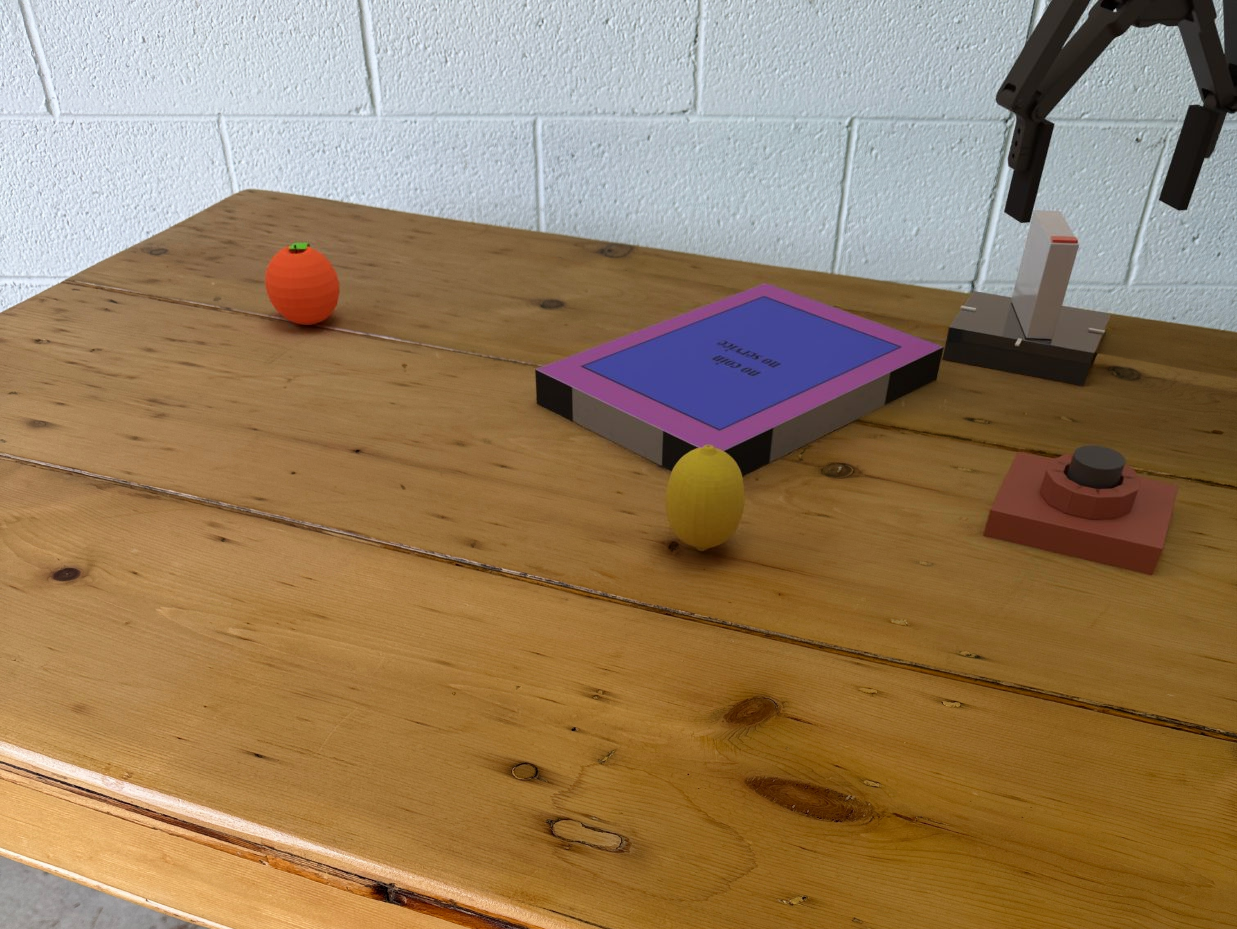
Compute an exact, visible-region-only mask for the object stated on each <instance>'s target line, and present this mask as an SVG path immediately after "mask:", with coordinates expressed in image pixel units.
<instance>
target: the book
mask: <svg viewBox="0 0 1237 929" xmlns="http://www.w3.org/2000/svg"><path fill="white" fill-rule="evenodd" d="M944 349H945V346H942V345H940V344H937V343H935V342H932V341H929V340H926V339H923V338H920V337H918V336H915V335H912V334H911V333H910V334H909V333H907V332H904V331H901V330H899V329H896V328H893V327H891V326H887V325H884V324H881V323H879V322H876V321H874V320H870V319H867V318H865V317H862V316H859V315H856V314H855V313H851V312H848V311H846V310H843V309H840V308H838V307H834V306H831V305H829V304H826V303H823V302H820V301H817V300H815V299H813V298H809V297H806V296H804V295H801V294H798V293H796V292H794V291H790V290H788V289H784V288H782V287H779V286H776V285H773V284H770V283H768V282H765V283H762V284H759V285H757V286H754V287H751V288H748V289H745V290H743V291H740V292H738V293H735V294H731V295H730V296H727V297H724V298H722V299H719V300H716V301H714V302H711V303H708V304H706V305H703V306H700V307H698V308H695V309H692V310H689V311H687V312H684V313H682V314H679V315H676V316H673V317H671V318H668V319H666V320H664V321H661V322H658V323H655V324H652V325H649V326H647V327H644V328H642V329H639V330H636V331H634V332H632V333H629V334H625V335H622V336H620V337H618V338H615V339H613V340H609V341H607V342H605V343H601V344H599V345H596V346H594V347H591V348H588V349H585V350H582V351H580V352H578V353H575V354H572V355H570V356H567V357H564V358H561V359H559V360H556V361H554V362H551V363H548V364H545V365H543V366H539V367H538V368H535V369H534V374H535V376H534V377H535V396H536V397H535V398H536V404H537V405H538V406H541V407H544V408H545V409H547V410H549V411H551V412H553V413H555V414H557V415H559V416H561V417H562V418H565V419H567V420H569V421H571V422H573V423H575V424H577V425H578V426H581V427H583V428H585V429H587V430H589V431H591V432H593V433H594V434H597V435H599V436H601V437H603V438H605V439H607V440H609V441H611V442H612V443H615V444H617V445H618V446H620V447H622V448H625V449H626V450H628V451H630V452H632V453H634V454H637V455H639V456H641V457H643V458H644V459H646V460H648V461H650V462H652V463H654V464H657V465H659V466H660V467H663V468H664V469H666V470H669V471H670V472H672V470H673V468H674V466H675V465H676V463H677V462H678V461H679V460H680V459H681V458H682V457H683V456H684V455H685V454H687V453H688V452H690V451H692V450H694V449H697V448H701V447H703V446H705V445H712V446H714V448H717V449H720V450H722V451H724V452H726V453H727V454H728V455H729V456H731V457H732V458H733V459H734V460H735V462H736V463H737V465H738V467H739V468H740V471H741V474H742V477H744V476H745V475H748V474H750V473H753V472H754V471H757V470H758V469H760V468H762V467H764V466H766V465H768V464H770V463H772V462H774V461H776V460H778V459H780V458H783V457H784V456H787V455H788V454H790V453H792V452H794V451H796V450H798V449H801V448H802V447H805V446H807V445H808V444H811V443H812V442H815V441H816V440H819V439H821V438H823V437H825V436H826V435H828V433H829V434H831V433H832V432H835V431H837V430H839V429H840V428H842V426H843V427H845V426H847V425H848V424H851V423H852V422H855V421H857V420H858V419H860V418H862V417H864V416H866V415H868V414H870V413H872V412H874V411H876V410H879V409H880V408H882V407H885V406H886V405H888V404H890V403H892V402H895V401H896V400H898V399H900V398H902V397H904V396H907V395H908V394H910V393H913V392H915V391H917V390H919V389H921V388H923V387H925V386H926V385H929V384H930V383H932V382H935V381H937V380H938V375H939V371H940V366H941V361H942V358H943V353H944ZM838 428H839V429H838ZM836 429H837V430H836ZM834 430H835V431H834ZM830 432H831V433H830ZM824 435H825V436H824Z"/></svg>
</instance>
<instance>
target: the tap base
mask: <svg viewBox="0 0 1237 929" xmlns="http://www.w3.org/2000/svg"><path fill="white" fill-rule="evenodd" d="M1011 300H1012V296H1007V295H1000V294H994V293H988V292H982V291H976V290H973V292H972V293H971V295H970V296H969V297H968V299H967V300H966V302H965V303H964V304H963V305H961V306H960V311H959V312H958V313H957V315H956V316H955V318H954V319H953V321H952V322H951V323H950V325H949V327H948V331H947V334H946V340H945V345H944V348H943V353H942V357H941V360H943V361H944V360H946V361H950V362H956V363H961V364H966V365H972V366H977V367H981V368H987V369H993V370H997V371H1004V372H1007V373H1008V372H1009V373H1014V374H1018V375H1025V376H1030V377H1035V378H1041V379H1044V380H1045V379H1046V380H1050V381H1055V382H1062V383H1067V384H1072V385H1078V386H1082V387H1084V386H1085V385H1086V383H1087V380H1088V377H1089V375H1090V372H1091V370H1092V368H1093V365H1094V363H1095V361H1096V359H1097V356H1098V353H1099V352H1098V350H1099V348H1100V346H1101V344H1102V341H1103V339H1104V336H1105V334H1106V331H1107V328H1108V324H1109V322H1110V318H1111V316H1112V314H1111V313H1107V312H1102V311H1101V312H1100V311H1097V310H1096V311H1095V310H1089V309H1083V308H1077V307H1071V306H1066V305H1062V308H1061V311H1060V315H1059V318H1058V322H1057V326H1056V329H1055V333H1054V336H1053V339H1038V338H1026V336H1025V334H1024V331H1023V329H1022V326H1021V324H1020V321H1019V319H1018V316H1017V314H1016V311H1015V309H1014V306H1013V304H1012V301H1011Z"/></svg>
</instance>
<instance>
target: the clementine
mask: <svg viewBox="0 0 1237 929" xmlns="http://www.w3.org/2000/svg"><path fill="white" fill-rule="evenodd" d="M264 284H265V290H266V293H267V296H268V299H269V302H270V303H271V304H272V306H273V307H274V309H275V311H277V312H278V314H280V315H281V316H282V317H283V318H284V319H286V320H287V321H290V322H292V323H294V324H297V325H301V326H302V325H304V326H313V325H316V324H319V323H322V322H323V321H325V320H326V319H327V318H328V317H330V316H331V315H332V314H333V312H334V311H335V309H336V307H337V306H338V302H339V299H340V298H339V297H340V291H341V290H340V280H339V277H338V275H337V272H336V270H335V268H334V267H333V265H332V262H331V261H330V260H329V259H328V258H327V257H326V256H325V255H324V254H323V253H322V252H320V251H318V250H316V248H313V247H311V245H310V242H294V243H292V244H291V245H289V246H288V245H287V246H285V247H283V248H281V249H280V250H279V251H278V252H277V253H276V254H274V255H273V256H272V257H271V259H270V260H269V263H268V265H267V267H266V272H265V276H264Z"/></svg>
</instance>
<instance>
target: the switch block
mask: <svg viewBox="0 0 1237 929" xmlns="http://www.w3.org/2000/svg"><path fill="white" fill-rule="evenodd" d="M1072 457H1073V453H1066V454H1062V455H1060V456H1058V457H1054V458H1052V457H1047V456H1041V455H1037V454H1032V453H1028V452H1023V451H1017V452H1016V454H1015V456H1014V459H1013V461H1012V463H1011V465H1010V467H1009V469H1008V472H1007V474H1006V475H1005V478H1004V480H1003V482H1002V484H1001V486H1000V488H999V490H998V492H997V495H996V497H995V499H994V501H993V503H992V505H991V507H990V509H989V513H988V517H987V520H986V523H985V528H984V531H983V535H982V536H983V537H987V538H990V539H995V540H999V541H1004V542H1009V543H1013V544H1017V545H1021V546H1024V547H1025V546H1026V547H1029V548H1034V549H1038V550H1043V551H1047V552H1050V553H1056V554H1060V555H1063V556H1068V557H1073V558H1076V559H1080V560H1084V561H1089V562H1093V563H1098V564H1103V565H1105V566H1106V565H1107V566H1111V567H1115V568H1119V569H1123V570H1127V571H1131V572H1136V573H1140V574H1145V575H1148V576H1153V575H1154V574H1155V573H1154V572H1155V571H1156V567H1157V566H1158V562H1159V560H1160V558H1161V556H1162V552H1163V550H1164V547H1165V544H1166V543H1165V542H1166V538H1167V535H1168V531H1169V527H1170V524H1171V523H1170V522H1171V518H1172V516H1173V510H1174V506H1175V502H1176V498H1177V494H1178V491H1179V486H1180V485H1179V484H1177V483H1176V484H1175V483H1171V482H1166V481H1162V480H1161V481H1160V480H1156V479H1151V478H1147V477H1142V476H1140V475H1139V474H1138V473H1137V472H1136V470H1135V469H1133V467H1132V466H1130V465H1127V464H1125V466H1124V468H1123V471H1122V474H1121V477H1120V480H1119V482H1118V485H1117V486H1116V487H1115V488H1112V489H1094V488H1089V487H1085V486H1081V485H1079V484H1077V483H1075V482H1073V481H1071V480H1069V479H1068V478H1067V472H1068V469H1069V466H1070V463H1071V460H1072Z"/></svg>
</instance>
